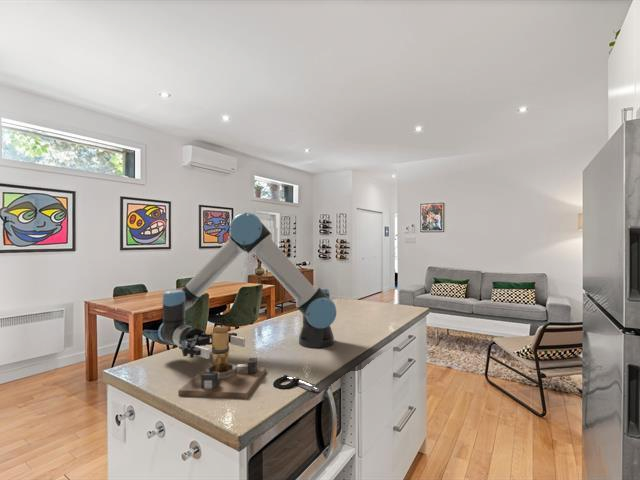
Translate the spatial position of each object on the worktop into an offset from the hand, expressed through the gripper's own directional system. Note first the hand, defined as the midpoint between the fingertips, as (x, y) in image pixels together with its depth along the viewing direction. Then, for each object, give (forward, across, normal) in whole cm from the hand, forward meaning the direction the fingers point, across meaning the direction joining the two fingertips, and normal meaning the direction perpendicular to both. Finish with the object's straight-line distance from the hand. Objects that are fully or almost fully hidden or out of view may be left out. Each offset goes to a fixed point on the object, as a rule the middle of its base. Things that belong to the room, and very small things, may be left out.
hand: (227, 348), depth 103 cm
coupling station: (+1, +2, -10) cm, 10 cm away
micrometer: (+21, -8, -11) cm, 25 cm away
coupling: (-3, 0, -8) cm, 9 cm away
